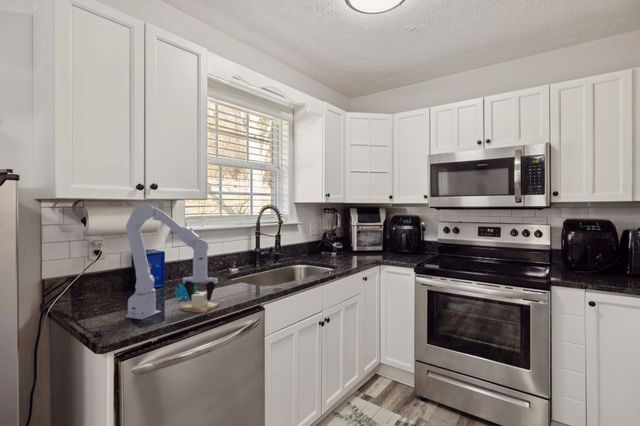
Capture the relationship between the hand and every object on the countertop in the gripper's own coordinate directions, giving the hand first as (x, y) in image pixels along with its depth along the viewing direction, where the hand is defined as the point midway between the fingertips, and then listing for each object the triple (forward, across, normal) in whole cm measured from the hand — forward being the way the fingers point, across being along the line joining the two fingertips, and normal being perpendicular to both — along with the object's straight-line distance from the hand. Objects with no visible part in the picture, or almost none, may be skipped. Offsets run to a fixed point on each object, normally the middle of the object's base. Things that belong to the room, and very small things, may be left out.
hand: (200, 299), depth 138 cm
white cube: (+2, 0, 0) cm, 2 cm away
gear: (+4, -12, +13) cm, 18 cm away
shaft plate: (+3, 0, 0) cm, 3 cm away
